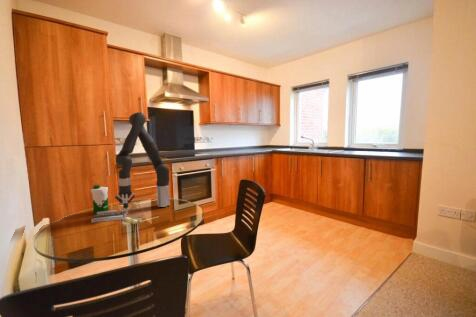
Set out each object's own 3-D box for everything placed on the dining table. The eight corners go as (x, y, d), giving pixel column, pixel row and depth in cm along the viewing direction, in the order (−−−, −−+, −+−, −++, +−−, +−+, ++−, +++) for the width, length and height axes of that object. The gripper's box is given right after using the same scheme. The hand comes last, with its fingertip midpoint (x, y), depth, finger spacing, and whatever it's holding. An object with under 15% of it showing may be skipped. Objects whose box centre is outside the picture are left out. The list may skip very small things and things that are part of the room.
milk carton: (99, 209, 162) (97, 184, 159) (111, 209, 161) (109, 184, 159) (91, 214, 153) (88, 187, 150) (103, 214, 153) (101, 187, 150)
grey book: (127, 210, 156) (127, 208, 156) (123, 217, 144) (123, 214, 144) (97, 213, 151) (97, 211, 151) (91, 220, 139) (91, 218, 138)
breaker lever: (123, 212, 151) (122, 203, 150) (122, 214, 148) (121, 205, 148) (116, 213, 150) (115, 204, 149) (115, 214, 147) (114, 205, 146)
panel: (128, 212, 157) (128, 210, 157) (125, 219, 145) (125, 216, 144) (97, 215, 151) (97, 213, 151) (91, 222, 139) (90, 220, 138)
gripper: (136, 182, 154) (137, 205, 156) (115, 183, 150) (116, 207, 152) (134, 185, 147) (135, 209, 149) (112, 186, 143) (113, 210, 145)
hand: (125, 208), depth 150 cm, fingers closed
